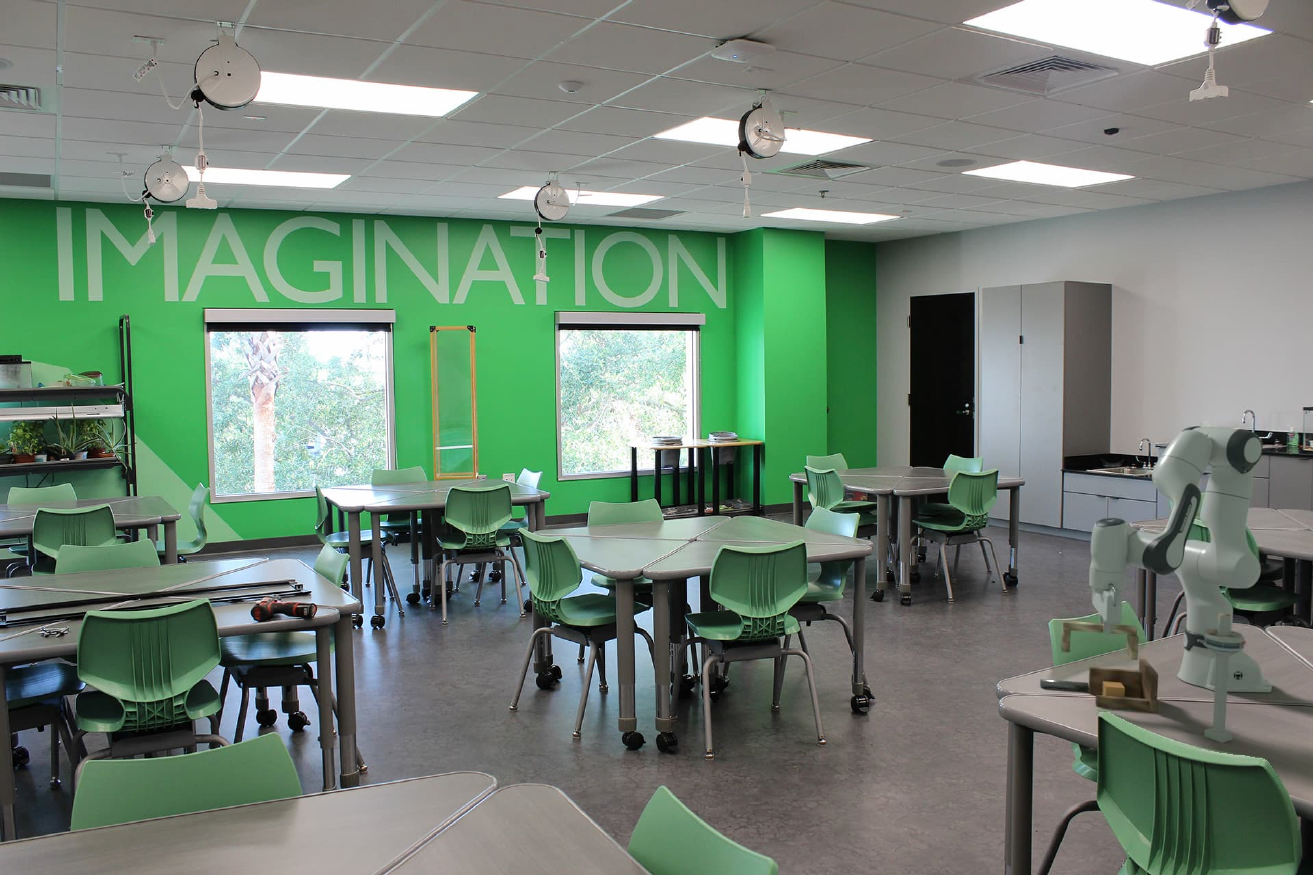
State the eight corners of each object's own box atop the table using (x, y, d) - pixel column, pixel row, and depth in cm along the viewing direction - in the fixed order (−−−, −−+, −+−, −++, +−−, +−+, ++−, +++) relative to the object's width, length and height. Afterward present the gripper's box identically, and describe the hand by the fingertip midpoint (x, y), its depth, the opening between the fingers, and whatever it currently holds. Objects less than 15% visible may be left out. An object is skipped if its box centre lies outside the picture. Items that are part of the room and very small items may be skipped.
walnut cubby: (1144, 695, 255) (1145, 658, 254) (1156, 712, 242) (1158, 674, 241) (1087, 690, 258) (1089, 654, 257) (1097, 707, 246) (1098, 669, 245)
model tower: (1212, 728, 231) (1217, 608, 229) (1246, 740, 224) (1253, 616, 222) (1190, 735, 227) (1196, 612, 225) (1225, 747, 220) (1231, 620, 218)
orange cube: (1120, 698, 252) (1120, 682, 252) (1124, 704, 248) (1124, 687, 248) (1101, 697, 253) (1102, 680, 253) (1105, 703, 249) (1106, 686, 249)
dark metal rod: (1086, 688, 260) (1087, 680, 259) (1088, 693, 258) (1088, 686, 257) (1039, 684, 263) (1040, 677, 262) (1041, 689, 261) (1041, 682, 260)
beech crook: (1132, 653, 252) (1133, 623, 251) (1137, 660, 246) (1139, 629, 245) (1059, 647, 257) (1060, 618, 256) (1062, 654, 251) (1063, 624, 250)
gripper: (1129, 589, 239) (1127, 643, 240) (1112, 572, 258) (1110, 622, 259) (1102, 588, 240) (1099, 641, 241) (1087, 571, 260) (1085, 620, 261)
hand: (1105, 631), depth 250 cm, fingers closed on beech crook
